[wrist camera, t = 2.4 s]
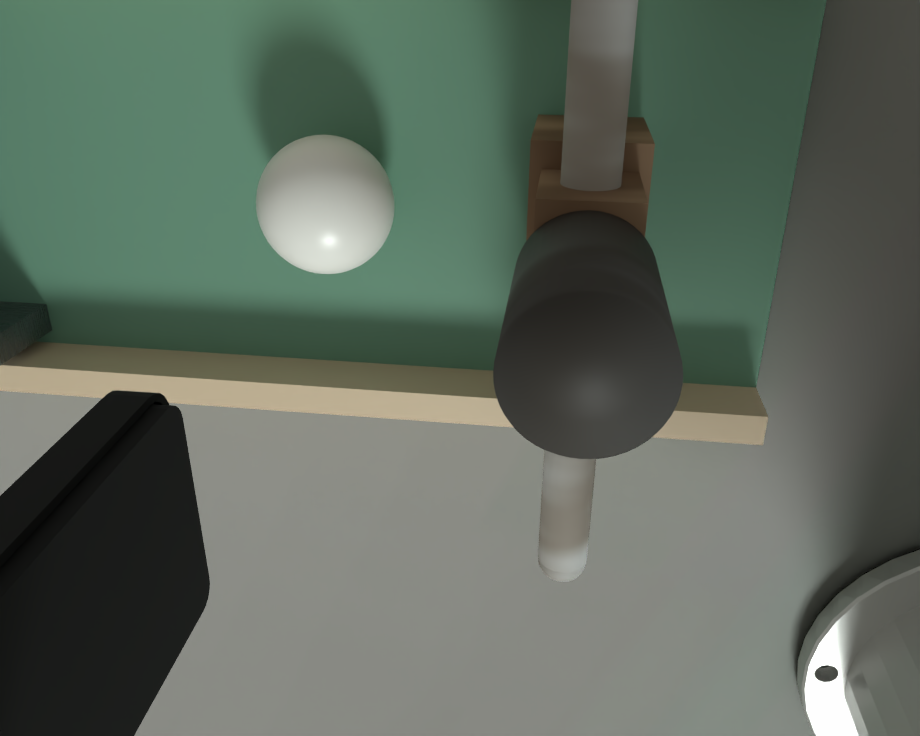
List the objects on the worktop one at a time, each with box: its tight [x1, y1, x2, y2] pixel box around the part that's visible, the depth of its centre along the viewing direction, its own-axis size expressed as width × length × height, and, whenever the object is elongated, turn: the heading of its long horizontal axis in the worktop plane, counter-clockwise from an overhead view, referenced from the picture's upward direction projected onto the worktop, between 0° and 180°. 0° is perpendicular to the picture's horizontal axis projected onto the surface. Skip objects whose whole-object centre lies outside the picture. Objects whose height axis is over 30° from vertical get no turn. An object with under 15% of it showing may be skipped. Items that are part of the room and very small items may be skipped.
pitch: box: [0, 0, 826, 445], centre depth 26 cm, size 30×14×3 cm, turn 90°
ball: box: [256, 135, 394, 274], centre depth 24 cm, size 4×4×4 cm
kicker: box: [493, 0, 683, 582], centre depth 19 cm, size 3×19×12 cm, turn 0°
